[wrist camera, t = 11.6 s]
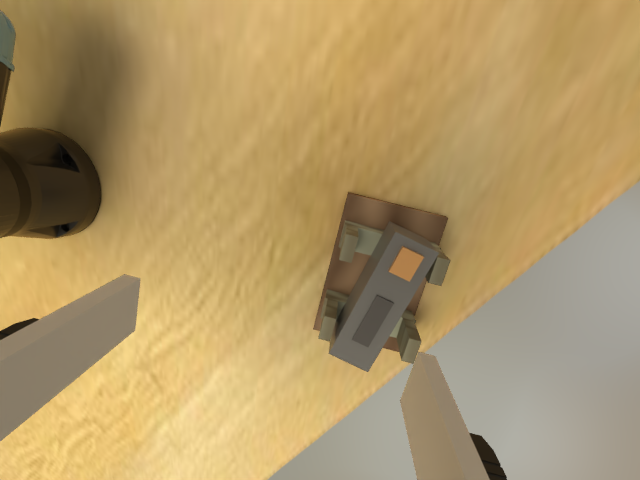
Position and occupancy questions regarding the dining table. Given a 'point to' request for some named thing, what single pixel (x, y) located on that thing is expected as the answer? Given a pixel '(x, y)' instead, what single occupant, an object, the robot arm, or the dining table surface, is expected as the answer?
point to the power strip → (381, 295)
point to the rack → (354, 252)
